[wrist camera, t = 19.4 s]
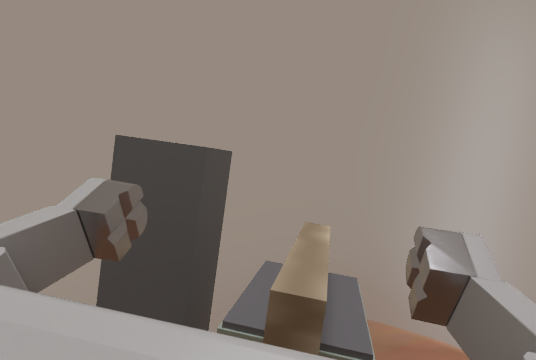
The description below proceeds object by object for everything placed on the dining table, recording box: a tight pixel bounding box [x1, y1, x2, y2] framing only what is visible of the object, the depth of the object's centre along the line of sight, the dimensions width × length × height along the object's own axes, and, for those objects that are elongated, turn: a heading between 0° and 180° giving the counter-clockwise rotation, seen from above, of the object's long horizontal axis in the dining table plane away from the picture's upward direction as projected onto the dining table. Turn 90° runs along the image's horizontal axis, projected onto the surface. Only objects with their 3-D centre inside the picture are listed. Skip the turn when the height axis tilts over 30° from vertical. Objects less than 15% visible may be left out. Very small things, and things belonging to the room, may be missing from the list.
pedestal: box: [96, 135, 232, 331], centre depth 37 cm, size 9×8×30 cm
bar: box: [263, 222, 330, 355], centre depth 25 cm, size 2×20×4 cm, turn 169°
